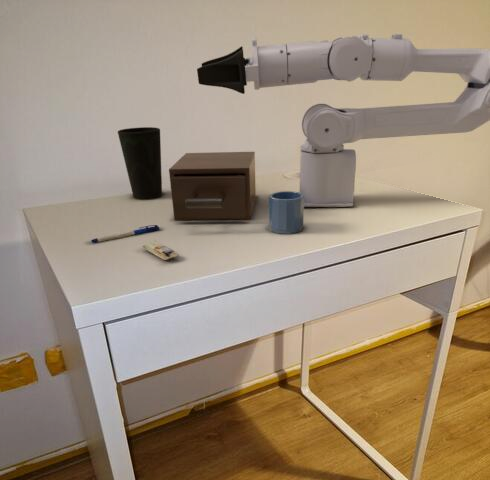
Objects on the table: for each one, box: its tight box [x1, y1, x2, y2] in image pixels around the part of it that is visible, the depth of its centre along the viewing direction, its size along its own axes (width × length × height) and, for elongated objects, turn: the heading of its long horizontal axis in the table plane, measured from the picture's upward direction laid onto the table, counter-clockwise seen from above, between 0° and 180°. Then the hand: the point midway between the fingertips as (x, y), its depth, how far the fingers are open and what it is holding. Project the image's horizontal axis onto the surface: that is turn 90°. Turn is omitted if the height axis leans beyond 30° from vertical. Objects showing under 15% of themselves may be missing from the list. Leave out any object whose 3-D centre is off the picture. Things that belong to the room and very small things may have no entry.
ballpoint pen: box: [90, 224, 160, 243], centre depth 70 cm, size 10×1×1 cm, turn 123°
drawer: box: [169, 173, 246, 219], centre depth 76 cm, size 18×11×6 cm, turn 176°
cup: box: [117, 126, 163, 200], centre depth 88 cm, size 8×8×12 cm
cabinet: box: [168, 151, 257, 221], centre depth 80 cm, size 15×13×8 cm
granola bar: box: [141, 240, 179, 261], centre depth 62 cm, size 7×2×1 cm, turn 37°
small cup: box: [268, 190, 305, 235], centre depth 70 cm, size 5×5×5 cm
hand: (200, 73), depth 74 cm, fingers open, 7 cm apart
